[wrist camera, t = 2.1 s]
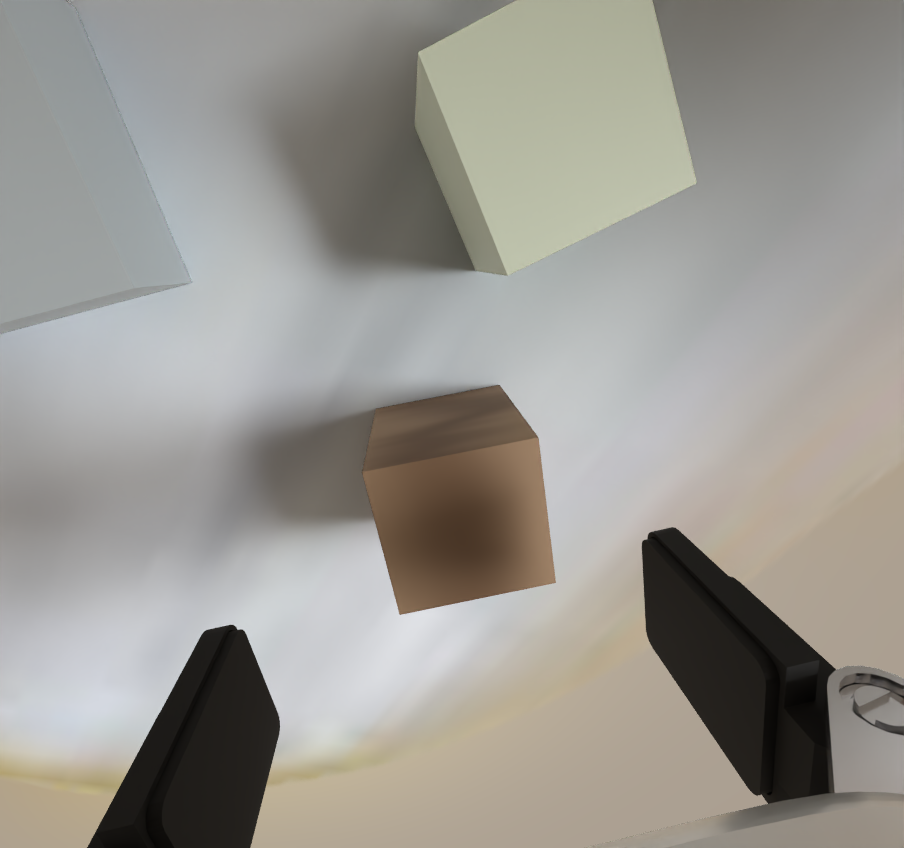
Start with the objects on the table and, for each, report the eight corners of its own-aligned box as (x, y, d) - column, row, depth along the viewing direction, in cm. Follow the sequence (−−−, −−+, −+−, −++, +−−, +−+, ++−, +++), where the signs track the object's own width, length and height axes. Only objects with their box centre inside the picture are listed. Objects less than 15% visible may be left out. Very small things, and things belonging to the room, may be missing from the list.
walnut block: (499, 384, 19) (538, 437, 13) (515, 493, 20) (556, 582, 15) (375, 408, 19) (362, 472, 13) (402, 516, 20) (399, 614, 15)
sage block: (552, 56, 15) (636, -64, 10) (601, 209, 17) (697, 183, 11) (414, 127, 16) (418, 52, 10) (475, 271, 17) (507, 275, 12)
